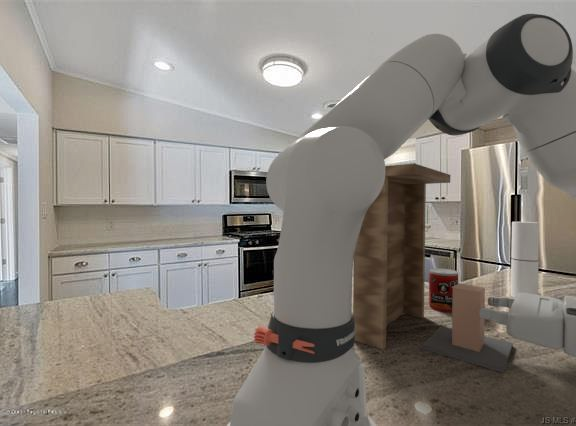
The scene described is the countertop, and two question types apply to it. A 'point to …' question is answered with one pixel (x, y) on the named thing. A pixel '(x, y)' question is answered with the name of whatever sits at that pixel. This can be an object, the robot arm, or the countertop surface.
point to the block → (468, 316)
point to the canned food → (442, 288)
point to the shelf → (392, 253)
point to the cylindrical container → (524, 258)
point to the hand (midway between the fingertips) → (484, 305)
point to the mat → (489, 356)
